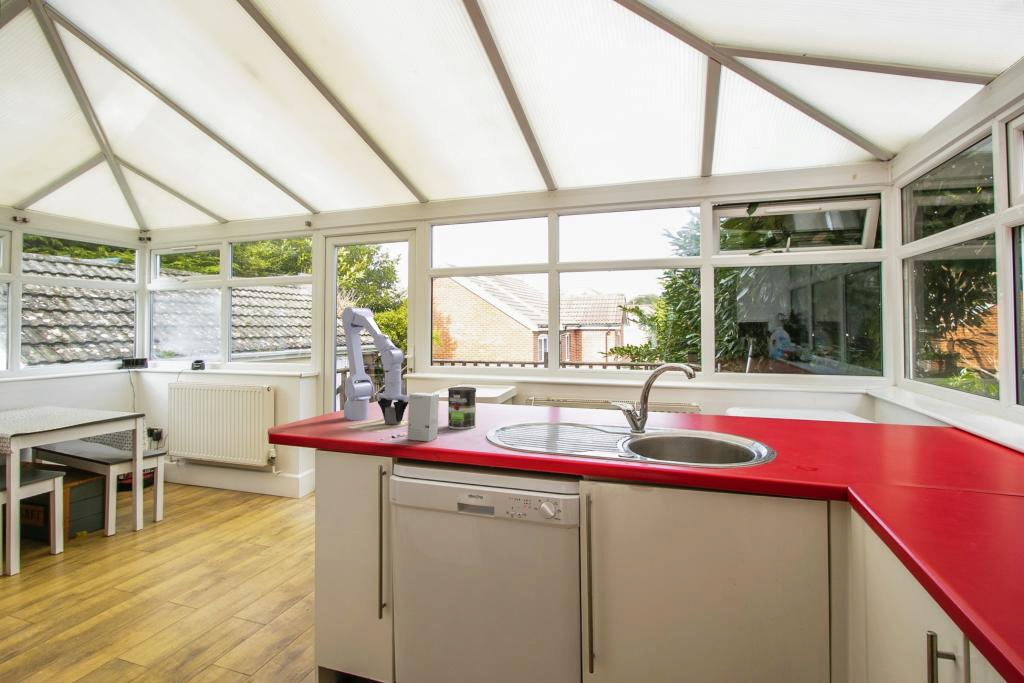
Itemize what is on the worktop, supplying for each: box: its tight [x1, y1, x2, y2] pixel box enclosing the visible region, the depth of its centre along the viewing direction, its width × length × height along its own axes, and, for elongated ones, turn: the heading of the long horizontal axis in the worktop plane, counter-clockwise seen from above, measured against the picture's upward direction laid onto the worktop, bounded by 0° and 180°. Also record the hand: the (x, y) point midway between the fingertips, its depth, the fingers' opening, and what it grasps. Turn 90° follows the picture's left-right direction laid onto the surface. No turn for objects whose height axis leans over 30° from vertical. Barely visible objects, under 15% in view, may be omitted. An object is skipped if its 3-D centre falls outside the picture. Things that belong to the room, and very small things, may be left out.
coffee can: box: [447, 386, 477, 430], centre depth 174 cm, size 10×10×14 cm
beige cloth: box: [341, 417, 408, 433], centre depth 170 cm, size 18×21×2 cm
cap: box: [385, 405, 401, 424], centre depth 171 cm, size 6×6×6 cm
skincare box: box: [407, 392, 440, 442], centre depth 154 cm, size 8×6×15 cm
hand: (393, 420), depth 171 cm, fingers closed on cap, 6 cm apart
